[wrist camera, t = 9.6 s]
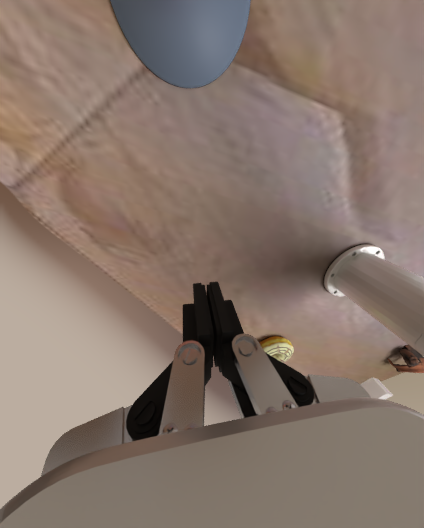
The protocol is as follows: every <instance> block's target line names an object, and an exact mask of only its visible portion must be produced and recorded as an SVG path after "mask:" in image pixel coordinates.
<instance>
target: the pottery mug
mask: <svg viewBox="0 0 424 528" xmlns="http://www.w3.org/2000/svg"><path fill="white" fill-rule="evenodd" d="M405 347H406V348H407V349H408V350H406V349H402V350H400V351H399V352H400V353H401V355H402V356H403V359H404V360H405V363H407V365H399V364H393V363H392V362H391V360H390V359H388V361H389V362H390V364H391V365H392V366H394V367H395V368H396V370H397V371H398V372H413V373H424V357H423V356H422V355H421V354H420V353H419V352H418V351H416V350H415V349H414V348H412V347H411V346H410V345H405ZM418 360H419V362H418Z"/></svg>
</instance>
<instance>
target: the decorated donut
mask: <svg viewBox="0 0 424 528" xmlns="http://www.w3.org/2000/svg"><path fill="white" fill-rule="evenodd" d="M260 345H261V347H262V348H263V350H264V352H265V353H267V354H269V355H271V356H272V357H274V358H276V359H277V360H279V361H281V362H282V363H283V362H285V361H287V360H288V359H289V358H290V357H291V356H292V354H293V350H294V348H293V346H292V344H291V343H290V342H289V341H288V340H287V339H285V338H283V337H279V336H272V337H269V338H267V339H264V340H262V341H261V342H260Z"/></svg>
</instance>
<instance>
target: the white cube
mask: <svg viewBox="0 0 424 528" xmlns="http://www.w3.org/2000/svg"><path fill="white" fill-rule="evenodd" d="M360 385H361V386H362V387H363V388H364V389H365V390H366V391H367V393H368V394H369V396H370V397H371V398H378V399H383V400H385V399H387V398H389V397H391V396H393V394H392V393H390V391H389V390H388V389H387V388H386V387H385V386H384V385H383V384H382V383H381V382H380V380H379V379H376V378H370V379H369V380H367V381H365V382H364V383H362V384H360Z"/></svg>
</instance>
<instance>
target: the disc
mask: <svg viewBox="0 0 424 528" xmlns="http://www.w3.org/2000/svg"><path fill="white" fill-rule="evenodd" d="M110 1H111V4H112V7H113V10H114V12H115V15H116V17H117V20H118V23H119V25H120V27H121V29H122V31H123V33H124V35H125V37H126V39H127V40H128V42H129V44H130V46H131V47H132V49H133V50H134V52H135V53H136V54H137V56H138V57H139V58H140V60H141V61H142V62H143V63H144V64H145V65H146V67H148V68H149V69H150V70H151V71H152V72H153V73H154V74H155V75H157V76H158V77H159V78H161V79H162V80H164V81H166V82H168V83H170V84H172V85H175V86H178V87H182V88H197V87H202V86H204V85H207V84H209V83H211V82H212V81H214V80H216V79H217V78H218V77H219V76H220V75H222V73H223V72H224V71H225V70H226V69H227V68H228V66H229V65H230V63H231V62H232V60H233V59H234V57H235V55H236V53H237V51H238V49H239V47H240V44H241V42H242V39H243V36H244V33H245V29H246V26H247V21H248V15H249V9H250V0H110Z"/></svg>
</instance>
